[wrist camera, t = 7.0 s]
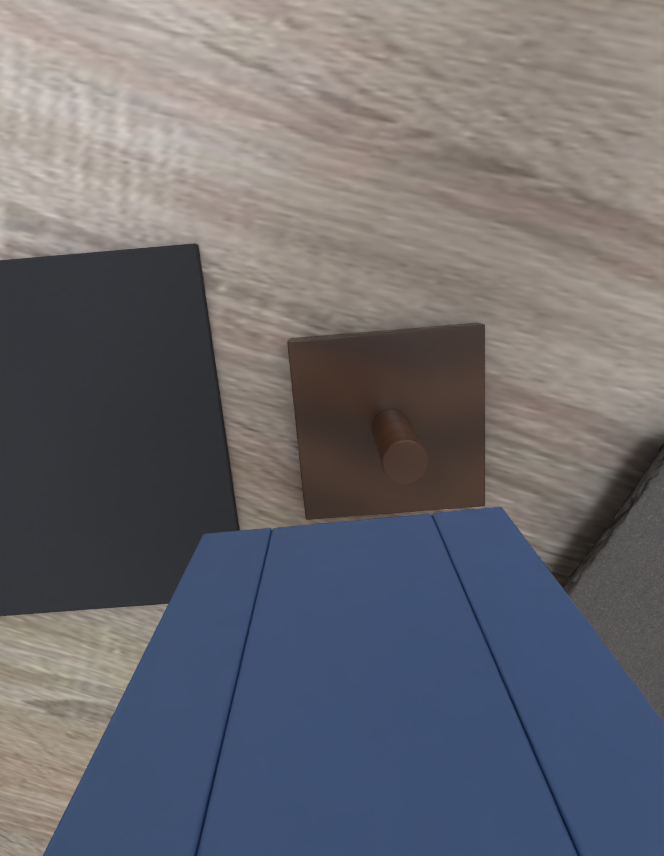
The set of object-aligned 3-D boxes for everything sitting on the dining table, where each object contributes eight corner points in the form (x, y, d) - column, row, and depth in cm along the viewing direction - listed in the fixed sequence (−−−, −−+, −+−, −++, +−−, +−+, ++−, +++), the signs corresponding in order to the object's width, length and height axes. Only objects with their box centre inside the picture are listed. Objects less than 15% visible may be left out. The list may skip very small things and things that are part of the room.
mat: (-117, 271, 26) (-125, 271, 25) (198, 244, 26) (195, 243, 25) (-12, 612, 31) (-17, 617, 31) (248, 593, 31) (247, 598, 31)
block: (202, 533, 10) (-38, 1007, 4) (501, 505, 10) (836, 946, 3) (245, 764, 12) (137, 1385, 5) (503, 743, 12) (733, 1356, 5)
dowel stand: (288, 338, 27) (276, 355, 21) (479, 322, 27) (525, 334, 20) (306, 512, 30) (300, 574, 23) (480, 499, 29) (520, 557, 23)
